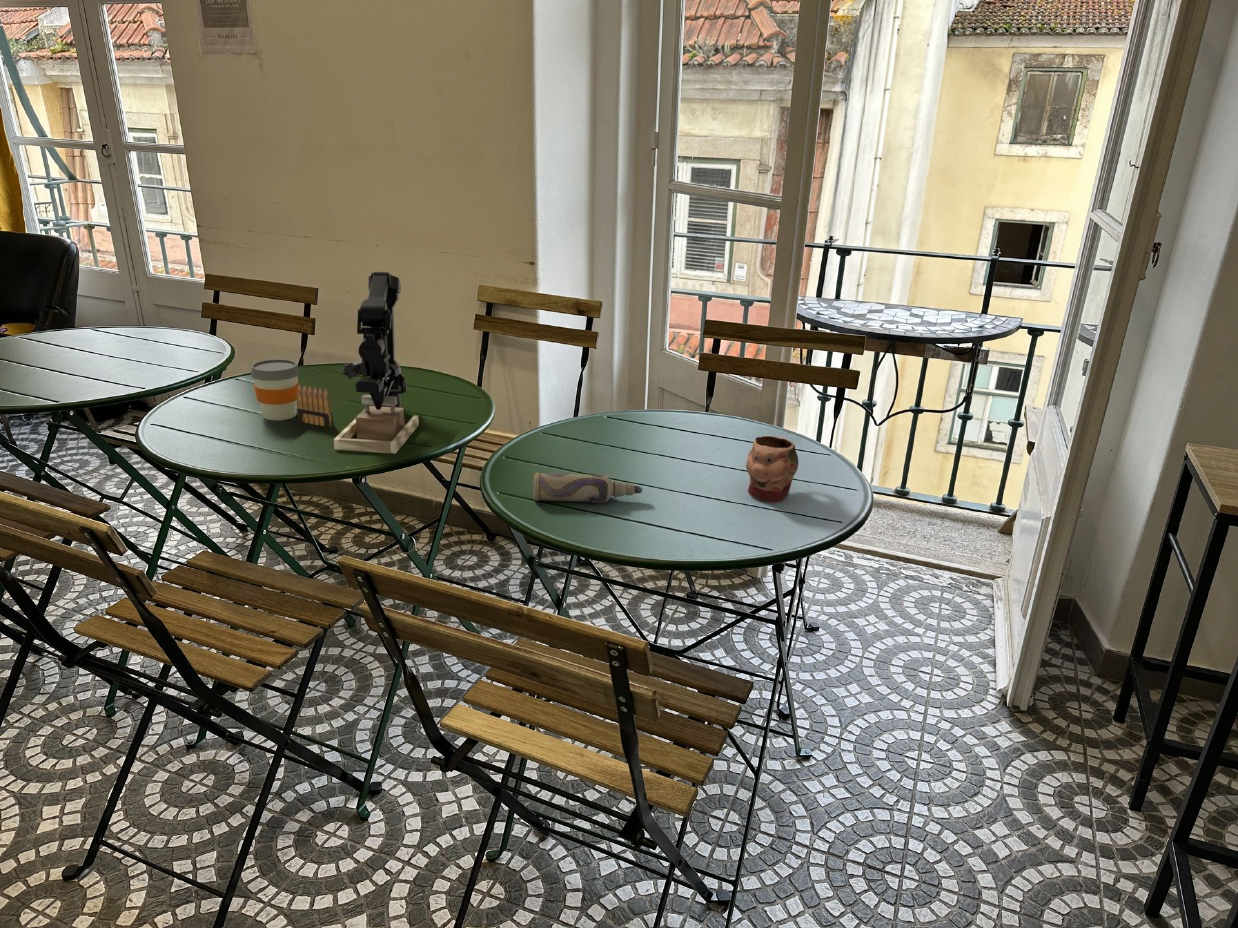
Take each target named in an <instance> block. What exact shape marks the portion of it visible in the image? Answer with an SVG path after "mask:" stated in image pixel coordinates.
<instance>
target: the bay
mask: <svg viewBox="0 0 1238 928" xmlns="http://www.w3.org/2000/svg"><path fill="white" fill-rule="evenodd" d="M419 420H420V419H419V415H416V414H414V415H413V416H411V418H410V419H409V420H408V422H407V423H405V427H404V428H403V429H402V430H401V431H400V432H399V434H398V435H397V436H396V437H395V438H394V439H393V441H387V440H371V439H357V438H353V437H354V436H355V434H357V429H356V417H355V418H354V419H353V421H351V422H350V423H348V425H347V426H346V427H345V428H344V429H342V431H341V432H340V433H339V434H338V435H336V437H334V438H333V447H334V450H336V451H351V452H367V453H368V452H369V453H380V454H382V453H383V454H397V452H398V451H399V450H400V449H401V448H402V446H403V445H405V443H406V441H407V440H408V439H409V438H410V436H411V435H412V434H413V432H414V431H416V430H417V428H418V427H419V425H420V423H419Z"/></svg>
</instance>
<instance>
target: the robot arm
mask: <svg viewBox="0 0 1238 928" xmlns="http://www.w3.org/2000/svg"><path fill="white" fill-rule="evenodd" d="M367 280H368V282H367V283H368V287H367V290H368V291H369V293H368V297H367V299H364V300H362V302H361V305H360V307H359V308H358V309H357V321H356V322H357V323H356V325H357V326H356V333H357V335H363V339H362V341H361V343H360V344H359V347H358V355H359V357H360V358H361V359H359V360H358V361H355V362H350V363H346V364H344V367H343V369H342V370H343V372H342V374H343V375H344V376H346V377H347V380H350V379H351V380H352V379H353V378H355V377H358V376H361V375H362V376H361V377H362V378H360V379H358V381H357V382H356V383H355V384H354V389H355V392H356V393H364V394H365V393H367V394H369V395H371V397H372V400H373V402H374V405H373V406H375V407H376V409H377V410H380V409H381V407H390V406H385V405H382V403H383V400H384V396H393V397H397V404H396V406H395V407H396V408H404V410H405V409H406V408H405V406H401V405H402V404H401V394H402V395H403V394H404V393H407V392H408V391H407V382H406V381H407V380H406V378H405V376H404V374H403V373H402V368H401V366H400V364H399V363H398V361H397V360H396V351H395V350H396V346H395V344H396V342H395V341H396V340H395V316H394V315H395V313H394V311H395V309H394V308H395V306H396V305H397V303H398V302H399V300H400V294H401V291H402V288H401V287H402V285H401V280H400V278H399V277H397V276H394V275H392V273H391V272H388V271H373V272H371V273H370V275H369V276H368V279H367Z"/></svg>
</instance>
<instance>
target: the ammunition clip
mask: <svg viewBox="0 0 1238 928" xmlns="http://www.w3.org/2000/svg"><path fill="white" fill-rule="evenodd" d="M329 397H330V396H329V393H328V390H327V389H326V388H325V389H324V392H323V390H322V388H321V387H319V390H317V387H316V386H314V388H313V390H312V387H311V386H308V389H307V386H306V385H305V384H304V385H303V387H302V386H301V384H300V383H299V385H298V399H297V420H298V426H299V427H304V428H310V429H311V428H312V427H314V426H321V427H325V428H331V427H334V420H333V419H334V417H333V412H332V411H331V410H332V409H331V408H332V407H331V402H330V398H329Z"/></svg>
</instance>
